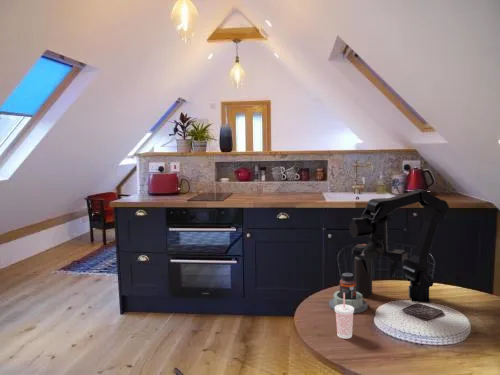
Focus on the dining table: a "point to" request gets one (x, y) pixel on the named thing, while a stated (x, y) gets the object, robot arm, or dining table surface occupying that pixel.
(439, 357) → the dining table surface
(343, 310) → the beverage cup
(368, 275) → the vinegar
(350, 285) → the supplement bottle
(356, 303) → the can holder
